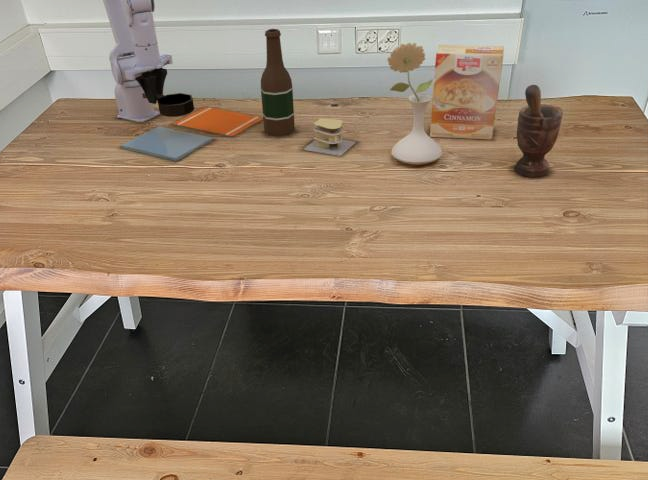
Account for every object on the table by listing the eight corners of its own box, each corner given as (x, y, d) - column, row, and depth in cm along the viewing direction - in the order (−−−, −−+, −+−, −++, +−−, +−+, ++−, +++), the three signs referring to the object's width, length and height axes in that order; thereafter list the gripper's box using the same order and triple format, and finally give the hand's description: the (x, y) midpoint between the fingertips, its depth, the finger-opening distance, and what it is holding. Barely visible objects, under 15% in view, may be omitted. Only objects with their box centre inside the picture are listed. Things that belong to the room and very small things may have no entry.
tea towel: (172, 124, 181) (172, 123, 180) (205, 107, 190) (205, 106, 189) (232, 137, 172) (232, 136, 172) (264, 119, 181) (264, 117, 180)
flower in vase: (444, 150, 159) (454, 35, 143) (438, 171, 151) (448, 51, 135) (388, 147, 162) (392, 34, 146) (380, 167, 154) (382, 49, 138)
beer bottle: (296, 126, 175) (291, 25, 160) (293, 138, 170) (287, 34, 154) (266, 126, 176) (258, 26, 161) (262, 138, 170) (253, 35, 155)
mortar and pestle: (549, 187, 142) (568, 89, 130) (507, 183, 145) (521, 86, 132) (552, 164, 151) (570, 70, 138) (512, 161, 153) (526, 68, 140)
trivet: (121, 148, 170) (120, 145, 169) (159, 129, 179) (158, 126, 178) (176, 161, 162) (175, 158, 161) (213, 140, 171) (212, 137, 170)
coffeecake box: (429, 137, 166) (435, 52, 153) (431, 126, 171) (438, 43, 159) (492, 140, 163) (504, 54, 150) (493, 129, 168) (504, 45, 156)
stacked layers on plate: (302, 149, 163) (301, 127, 160) (319, 136, 170) (318, 114, 166) (340, 156, 160) (340, 133, 156) (356, 142, 166) (356, 119, 162)
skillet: (200, 107, 168) (199, 95, 166) (178, 119, 163) (176, 106, 161) (157, 99, 174) (155, 87, 172) (135, 110, 169) (132, 97, 167)
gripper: (136, 53, 154) (147, 113, 163) (178, 37, 164) (186, 94, 172) (113, 50, 157) (126, 109, 166) (156, 34, 167) (165, 91, 175)
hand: (155, 101), depth 169 cm, fingers closed on skillet
